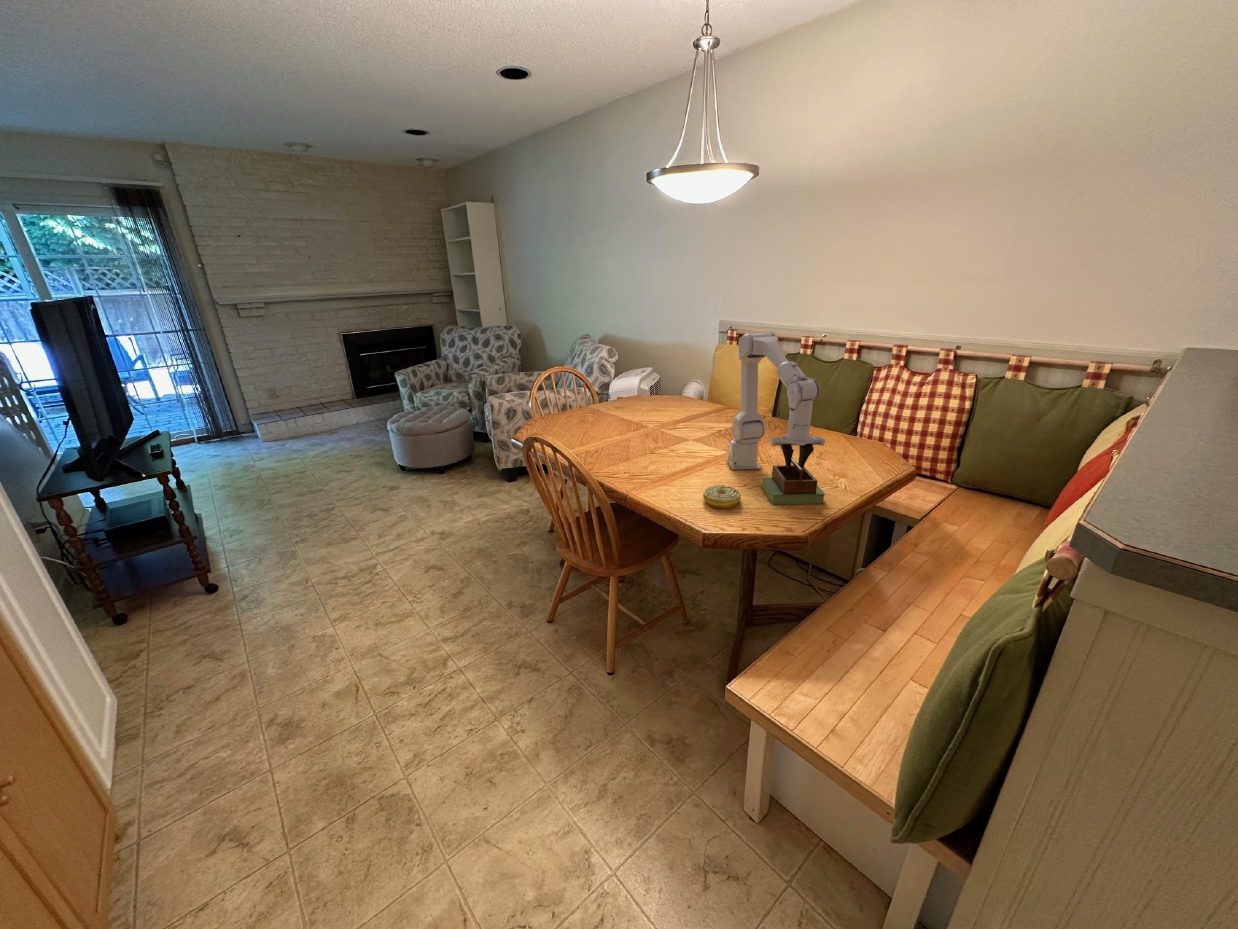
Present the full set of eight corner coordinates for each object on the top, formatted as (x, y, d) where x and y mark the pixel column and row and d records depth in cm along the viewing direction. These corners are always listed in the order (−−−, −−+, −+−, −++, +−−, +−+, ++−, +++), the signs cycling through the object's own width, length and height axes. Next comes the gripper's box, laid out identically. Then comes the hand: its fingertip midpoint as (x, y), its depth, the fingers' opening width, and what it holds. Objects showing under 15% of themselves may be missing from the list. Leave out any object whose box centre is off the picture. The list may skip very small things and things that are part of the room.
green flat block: (772, 504, 135) (773, 494, 134) (761, 486, 146) (762, 477, 145) (824, 503, 134) (825, 494, 133) (808, 485, 146) (809, 476, 145)
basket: (783, 494, 134) (785, 470, 131) (771, 477, 145) (773, 454, 142) (815, 493, 133) (819, 469, 131) (801, 477, 144) (804, 454, 142)
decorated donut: (743, 496, 140) (743, 485, 139) (737, 512, 131) (738, 500, 129) (707, 492, 144) (708, 480, 142) (699, 507, 134) (700, 495, 133)
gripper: (776, 428, 129) (772, 474, 134) (831, 426, 128) (825, 473, 133) (769, 420, 135) (765, 465, 140) (821, 419, 135) (815, 464, 140)
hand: (794, 468), depth 137 cm, fingers open, 3 cm apart
